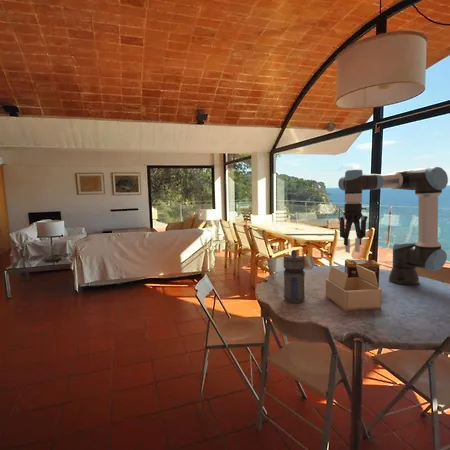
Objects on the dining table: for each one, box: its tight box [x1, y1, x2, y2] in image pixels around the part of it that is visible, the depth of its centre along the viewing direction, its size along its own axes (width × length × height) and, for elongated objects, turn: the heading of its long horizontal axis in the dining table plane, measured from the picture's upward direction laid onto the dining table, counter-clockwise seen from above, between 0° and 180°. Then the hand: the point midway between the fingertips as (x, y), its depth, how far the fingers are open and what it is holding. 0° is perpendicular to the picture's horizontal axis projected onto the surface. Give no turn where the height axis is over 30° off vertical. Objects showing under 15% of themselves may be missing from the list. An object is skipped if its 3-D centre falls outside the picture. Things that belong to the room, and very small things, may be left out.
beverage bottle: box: [283, 249, 306, 304], centre depth 149 cm, size 10×13×25 cm
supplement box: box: [344, 259, 380, 288], centre depth 162 cm, size 10×15×16 cm
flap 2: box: [356, 265, 378, 286], centre depth 145 cm, size 1×16×7 cm, turn 5°
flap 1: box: [327, 265, 348, 288], centre depth 143 cm, size 1×16×7 cm, turn 6°
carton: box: [325, 277, 383, 312], centre depth 145 cm, size 17×21×9 cm
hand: (352, 251), depth 143 cm, fingers open, 4 cm apart
